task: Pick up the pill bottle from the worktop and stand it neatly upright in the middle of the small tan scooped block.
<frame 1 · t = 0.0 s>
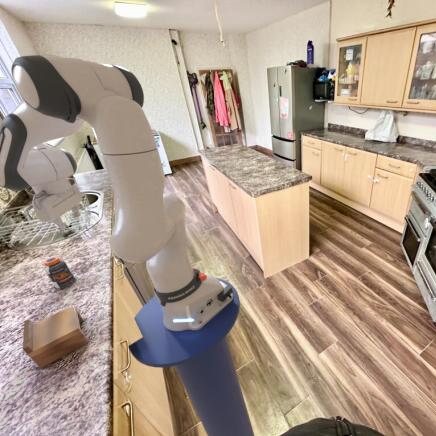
hand: (71, 222, 86), 22 cm above the counter, tool pointing down, fingers open, 8 cm apart
pill bottle: (66, 283, 90), on the counter
tan scooped block: (64, 341, 67), on the counter
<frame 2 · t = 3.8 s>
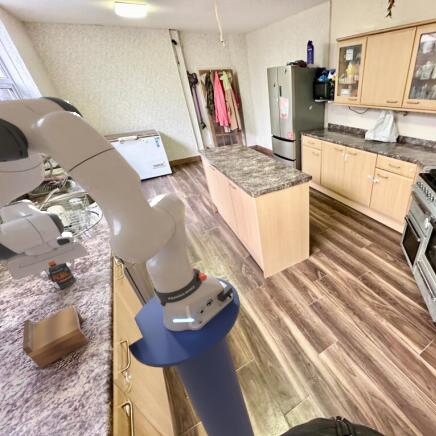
hand: (60, 274, 88), 4 cm above the counter, tool pointing down, fingers closed on pill bottle, 6 cm apart
pill bottle: (66, 283, 90), on the counter, touching gripper
when the fingers open (10 cm above the counter, at t = 11.6 s): pill bottle stays where it is, resting on tan scooped block.
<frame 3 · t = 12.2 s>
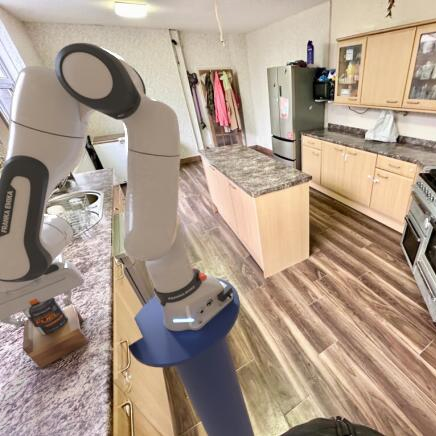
hand: (46, 314, 62), 11 cm above the counter, tool pointing down, fingers open, 8 cm apart
pill bottle: (55, 326, 65), point 6 cm above the counter, touching tan scooped block
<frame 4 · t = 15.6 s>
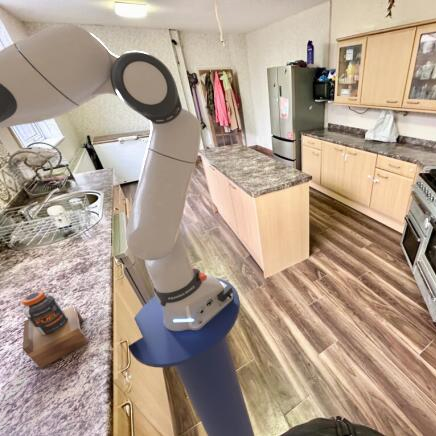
nothing on the counter moved.
at the end: pill bottle inside the target area on the tan scooped block (0.2 cm from its centre), point 5.8 cm above the tan scooped block's base; pill bottle tilted 0°; the gripper is holding nothing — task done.
